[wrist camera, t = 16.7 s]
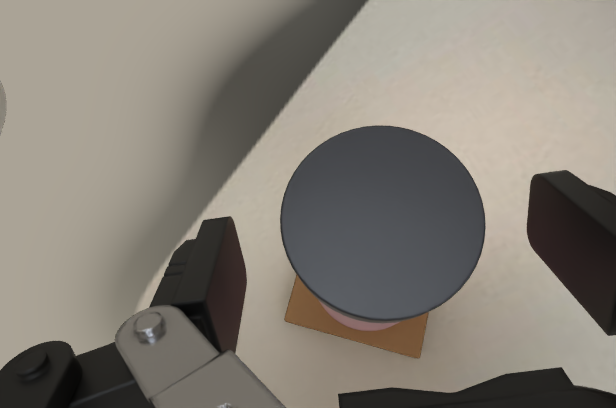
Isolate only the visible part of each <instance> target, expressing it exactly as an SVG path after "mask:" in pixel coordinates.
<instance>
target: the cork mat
mask: <svg viewBox="0 0 616 408" xmlns="http://www.w3.org/2000/svg"><path fill="white" fill-rule="evenodd" d="M427 317H428V312H427V313H425V314H423V315H421V316H418V317H415V318H412V319H410V320H405V321H401V322H399V323H397V324H395V325H393V326H391V327H389V328H386V329H382V330H377V331H361V330H356V329H353V328H350V327H347V326H345V325H343V324H341V323H340V322H338V321H337V320H335V319H334V318H333V317H332V316H331V315H329V314H328V312H327V311H326V310H325V309H324V308H323V306H322V305H321V303H320V302H319V300H318V299H317V298H316V297H315V296H314V295H313V294H312V293H311V292H310V291H309V290H308V289H307V288H306V286H305V285H304V284H303V283H302V281H301V280H300V278H299V277H298V275H297V276H296V279H295V283H294V286H293V290H292V293H291V297H290V301H289V304H288V308H287V311H286V315H285V319H284V320H285V321H286V322H289V323H293V324H296V325H300V326H304V327H307V328H311V329H314V330H318V331H321V332H325V333H328V334H332V335H336V336H339V337H343V338H346V339H350V340H353V341H357V342H360V343H364V344H367V345H371V346H375V347H378V348H382V349H385V350H389V351H392V352H396V353H399V354H403V355H407V356H410V357H414V358H419V357H420V354H421V349H422V343H423V338H424V333H425V328H426V323H427Z"/></svg>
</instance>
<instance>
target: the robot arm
mask: <svg viewBox="0 0 616 408" xmlns="http://www.w3.org/2000/svg"><path fill="white" fill-rule="evenodd" d="M527 235H528V239H529V242H530V245H531V247H532V248H533V250H534V251H535V252H536V253H537V254H538V256H539V257H540V258H541V259H542V260H543V261H544V262H545V264H546V265H547V266H548V267H549V268H550V269H551V271H552V272H553V273H554V274H555V275H556V276H557V277H558V279H559V280H560V281H561V282H562V283H563V284H564V286H565V287H566V288H567V289H568V290H569V291H570V292H571V294H572V295H573V296H574V297H575V298H576V299H577V301H578V302H579V303H580V304H581V305H582V306H583V308H584V309H585V310H586V311H587V312H588V313H589V314H590V316H591V317H592V318H593V319H594V320H595V321H596V323H597V324H598V325H599V326H600V327H601V328H602V329H603V331H604V332H605V333H606V334H607V335H608V336H610V335H616V196H615V195H614V194H612V193H611V192H608V191H605V190H602V189H599V188H597V187H594V186H591V185H587V184H586V183H585V182H583V181H582V180H580V179H579V178H578V177H576V176H575V175H573V174H572V173H571V172H569V171H567V170H562V171H555V172H548V173H541V174H536V175H534V176H533V178H532V180H531V184H530V195H529V207H528V218H527ZM246 285H247V277H246V268H245V263H244V259H243V255H242V251H241V247H240V243H239V239H238V236H237V232H236V228H235V224H234V221H233V219H232V217H231V216H229V217H222V218H215V219H208V220H203V222H202V224H201V227H200V229H199V232H198V234H197V237H196V239H192V240H186V241H185V242H184V243H183V244H182V245H181V246H180V247H179V248H178V249H177V250H176V251H175V252H174V253H173V255H172V258H171V260H170V262H169V267H167V269H166V271H165V273H164V277H163V278H162V280H161V282H160V284H159V287H158V289H157V291H156V293H155V295H154V298H153V300H152V302H151V304H150V307H149V308H147V309H145V310H142V311H140V312H138V313H137V314H135V315H133V316H132V317H130V318H129V319H128V320H127V321H125V322H124V323H123V325H122V326H121V327H120V328H119V330H118V331H117V334H116V336H115V342H113V343H111V344H109V345H106V346H103V347H101V348H97V349H95V350H92V351H89V352H86V353H83V354H80V355H78V356H75V354H74V352H73V350H72V348H71V346H70V345H69V344H68V343H66V342H62V341H50V342H45V343H41V344H38V345H36V346H33V347H31V348H29V349H27V350H25V351H24V352H22V353H20V354H18V355H17V356H16V357H14V358H13V359H12V360H10V361H9V362H8V363H7V364H6V365H5V366H4V367H3V368H2V369H1V370H0V408H286V407H285V406H284V405H283V404H282V403H281V402H280V401H279V400H278V399H277V398H276V397H275V396H274V395H273V393H272V392H271V391H270V390H269V389H268V388H267V387H266V386H265V385H264V384H263V383H262V382H261V381H260V380H259V379H258V378H257V377H256V376H255V374H254V373H253V372H252V371H251V370H250V369H249V368H248V367H247V366H246V365H245V364H244V363H243V362H242V361H241V360H240V359H239V358H238V356H237V355H236V354H235V352H236V346H237V340H238V334H239V328H240V322H241V316H242V310H243V304H244V298H245V292H246ZM338 398H339V408H616V395H615V394H613V393H609V392H606V391H602V390H598V389H594V388H588V387H583V386H575V385H573V384H572V382H571V381H570V379H569V378H568V376H567V375H566V373H565V372H564V370H563V369H562V367H560V368H551V369H543V370H535V371H526V372H518V373H510V374H504V375H502V376H499V377H496V378H493V379H491V380H488V381H485V382H483V383H480V384H477V385H474V386H472V387H469V388H466V389H464V390H461V391H458V392H454V393H444V392H434V391H423V390H413V389H402V388H384V389H376V390H367V391H359V392H351V393H342V394H338Z"/></svg>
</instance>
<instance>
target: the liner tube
mask: <svg viewBox="0 0 616 408" xmlns="http://www.w3.org/2000/svg"><path fill="white" fill-rule="evenodd" d="M280 224H281V235H282V241H283V245H284V248H285V251H286V254H287V257H288V259H289V261H290V263H291V265H292V268H293V269H294V271H295V272H296V274H297V275H298V277H299V278H300V280H301V281H302V283H303V284H304V285H305V286H306V288H307V289H308V290H309V291H310V292H311V293H312V294H313V295H314V296H315V297H316V298H317V299H318V300H319V302H320V303H321V305H322V306H323V308H324V309H325V310H326V311H327V312H328V314H329V315H331V316H332V317H333V318H334V319H335V320H337V321H338V322H340V323H341V324H343V325H345V326H347V327H350V328H353V329H356V330H361V331H377V330H382V329H386V328H389V327H391V326H393V325H395V324H397V323H399V322H401V321H405V320H410V319H412V318H415V317H418V316H421V315H423V314H425V313H427V312H429V311H431V310H433V309H435V308H437V307H439V306H441V305H442V304H443V303H445V302H446V301H448V300H449V299H450V298H452V297H453V296H454V295H455V294H456V293H457V292H458V291H459V290H460V289H461V288H462V287H463V285H464V284H465V283H466V282H467V280H468V279H469V278H470V276H471V274H472V273H473V271H474V269H475V267H476V265H477V263H478V260H479V258H480V255H481V252H482V248H483V244H484V238H485V213H484V208H483V203H482V199H481V196H480V193H479V190H478V188H477V186H476V184H475V182H474V180H473V178H472V176H471V175H470V173H469V172H468V170H467V169H466V167H465V166H464V165H463V164H462V163H461V162H460V160H459V159H458V158H457V157H456V156H455V155H454V154H453V153H451V152H450V151H449V150H448V149H447V148H445V147H444V146H443V145H441V144H440V143H438V142H437V141H435V140H433V139H431V138H429V137H428V136H426V135H423V134H421V133H418V132H415V131H413V130H409V129H405V128H401V127H393V126H367V127H361V128H356V129H352V130H349V131H346V132H343V133H340V134H338V135H336V136H334V137H332V138H330V139H328V140H327V141H325V142H324V143H322V144H320V145H319V146H318V147H317V148H315V149H314V150H313V151H312V152H311V153H309V155H308V156H307V157H306V158H305V159H304V160H303V161H302V162H301V163H300V165H299V166H298V168H297V169H296V170H295V172H294V174H293V175H292V177H291V179H290V181H289V183H288V186H287V188H286V191H285V193H284V197H283V202H282V206H281V216H280Z"/></svg>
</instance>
